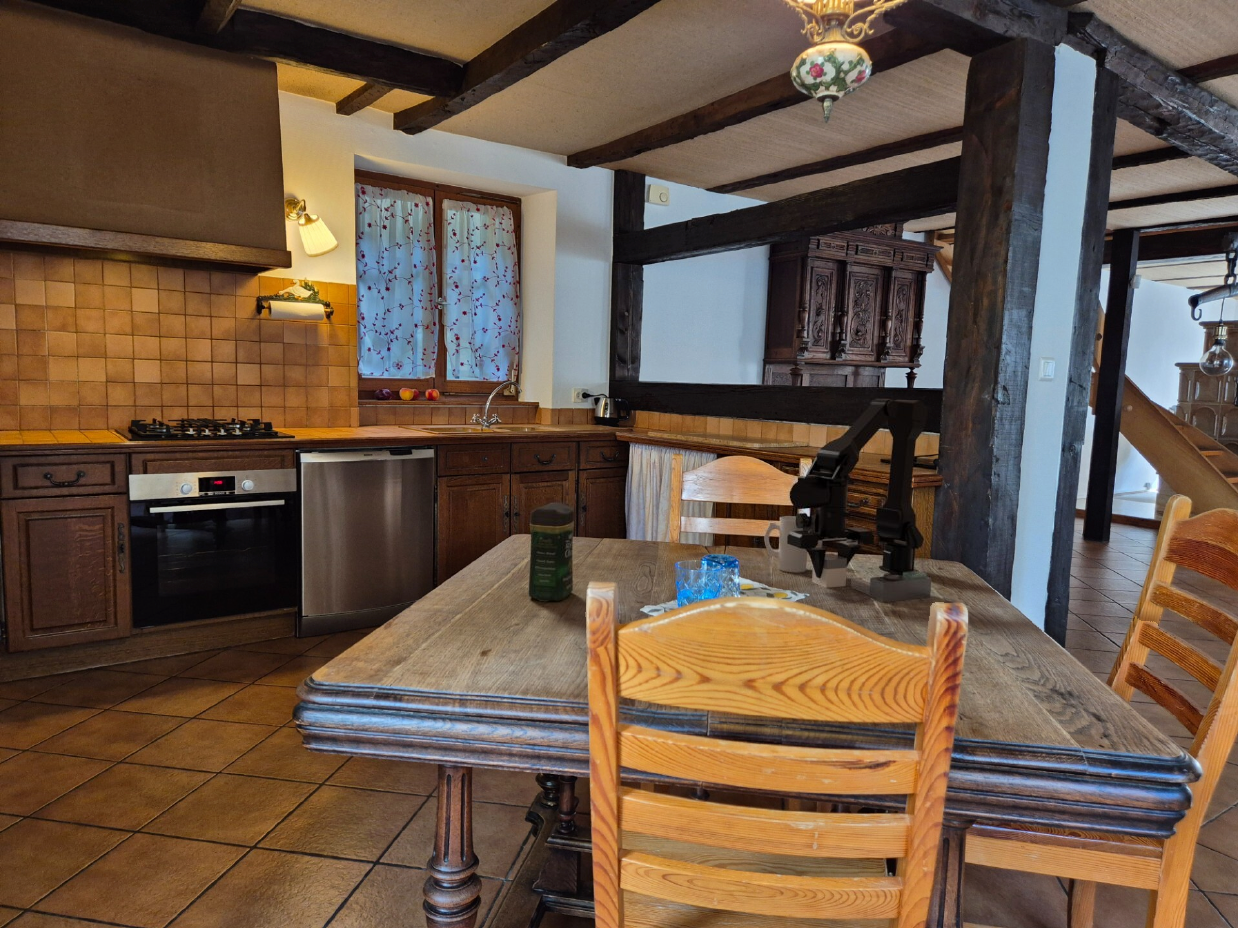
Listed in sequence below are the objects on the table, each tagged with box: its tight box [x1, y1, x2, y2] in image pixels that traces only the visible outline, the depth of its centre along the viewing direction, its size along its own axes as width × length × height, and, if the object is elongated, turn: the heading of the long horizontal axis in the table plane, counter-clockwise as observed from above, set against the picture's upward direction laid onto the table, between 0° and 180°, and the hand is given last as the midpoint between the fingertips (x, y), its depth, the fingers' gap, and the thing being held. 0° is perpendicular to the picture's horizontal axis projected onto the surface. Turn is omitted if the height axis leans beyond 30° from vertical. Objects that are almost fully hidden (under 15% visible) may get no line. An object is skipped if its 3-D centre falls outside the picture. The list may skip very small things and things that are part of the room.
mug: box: [763, 515, 808, 574], centre depth 177 cm, size 10×7×12 cm, turn 78°
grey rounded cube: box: [811, 553, 848, 589], centre depth 165 cm, size 5×5×6 cm
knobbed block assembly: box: [850, 570, 932, 603], centre depth 159 cm, size 11×12×5 cm
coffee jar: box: [528, 502, 575, 602], centre depth 151 cm, size 10×8×19 cm
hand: (829, 576), depth 165 cm, fingers closed on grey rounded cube, 5 cm apart
